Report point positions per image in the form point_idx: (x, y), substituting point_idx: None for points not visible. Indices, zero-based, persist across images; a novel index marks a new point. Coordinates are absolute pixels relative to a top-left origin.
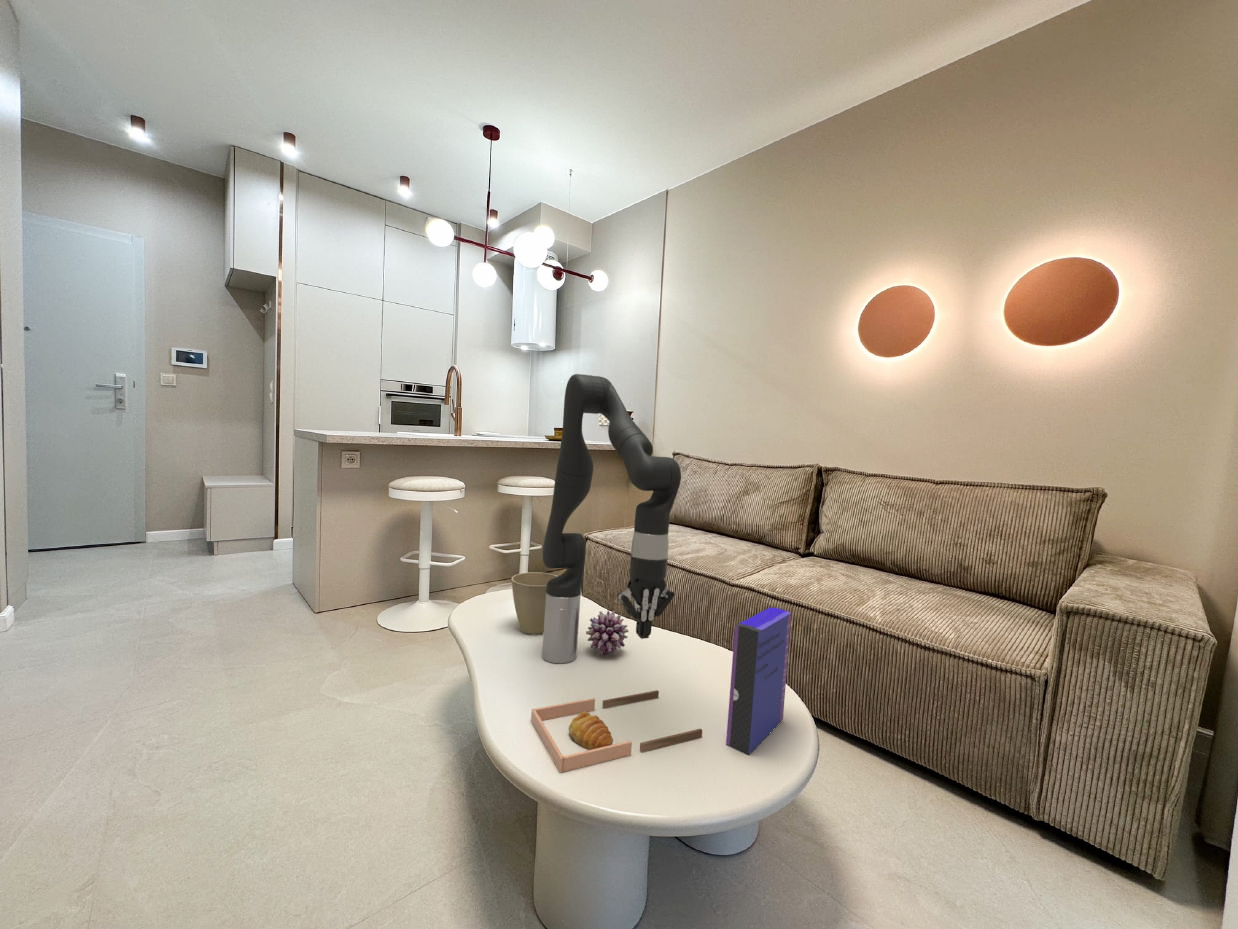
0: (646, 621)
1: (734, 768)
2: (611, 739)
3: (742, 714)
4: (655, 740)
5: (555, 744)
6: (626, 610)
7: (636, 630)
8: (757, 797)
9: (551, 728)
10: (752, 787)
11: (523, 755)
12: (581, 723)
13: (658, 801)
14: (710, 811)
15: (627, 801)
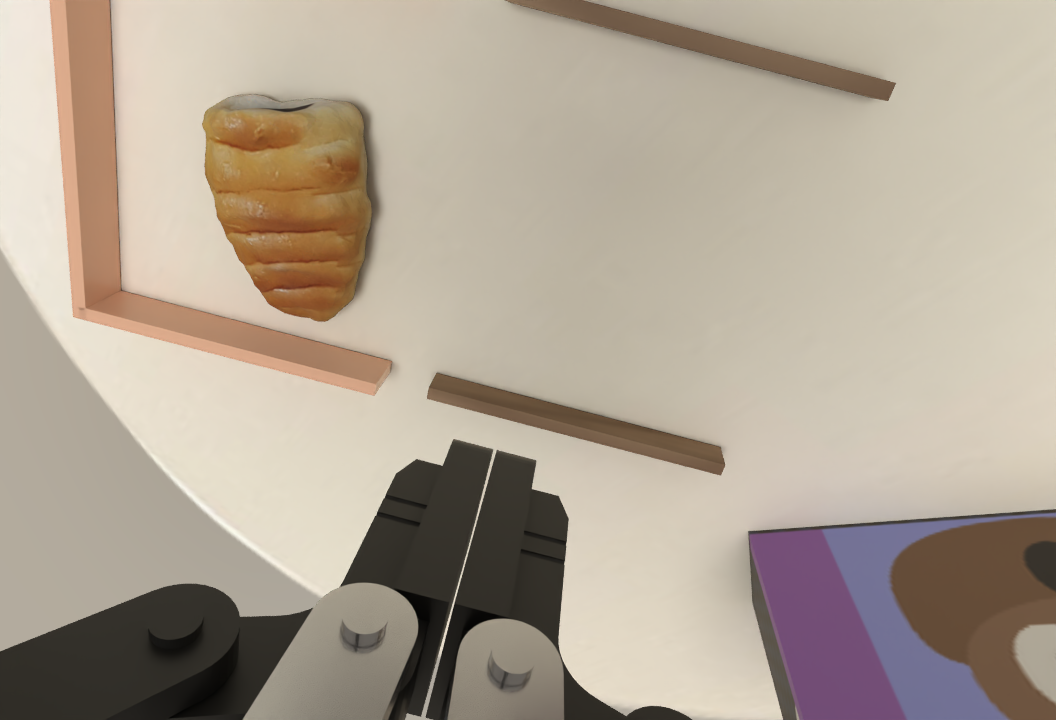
0: (413, 714)
1: (647, 604)
2: (332, 310)
3: (784, 696)
4: (492, 412)
5: (77, 227)
6: (16, 667)
7: (389, 496)
8: (586, 687)
9: (170, 9)
10: (612, 666)
11: (2, 126)
12: (225, 182)
13: (333, 552)
14: None
15: (253, 505)
